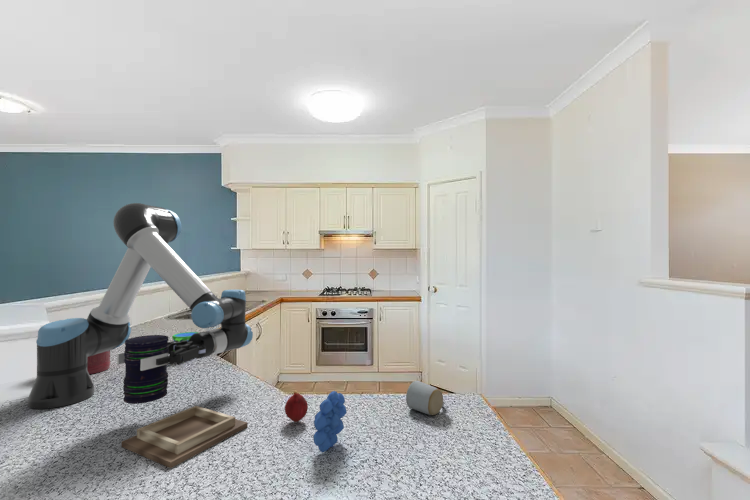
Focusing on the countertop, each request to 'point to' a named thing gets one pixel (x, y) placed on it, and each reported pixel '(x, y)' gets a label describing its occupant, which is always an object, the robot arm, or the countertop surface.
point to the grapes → (329, 421)
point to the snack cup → (183, 336)
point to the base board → (182, 435)
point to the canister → (98, 362)
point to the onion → (296, 407)
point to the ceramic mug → (424, 398)
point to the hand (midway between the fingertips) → (129, 361)
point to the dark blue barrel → (145, 382)
